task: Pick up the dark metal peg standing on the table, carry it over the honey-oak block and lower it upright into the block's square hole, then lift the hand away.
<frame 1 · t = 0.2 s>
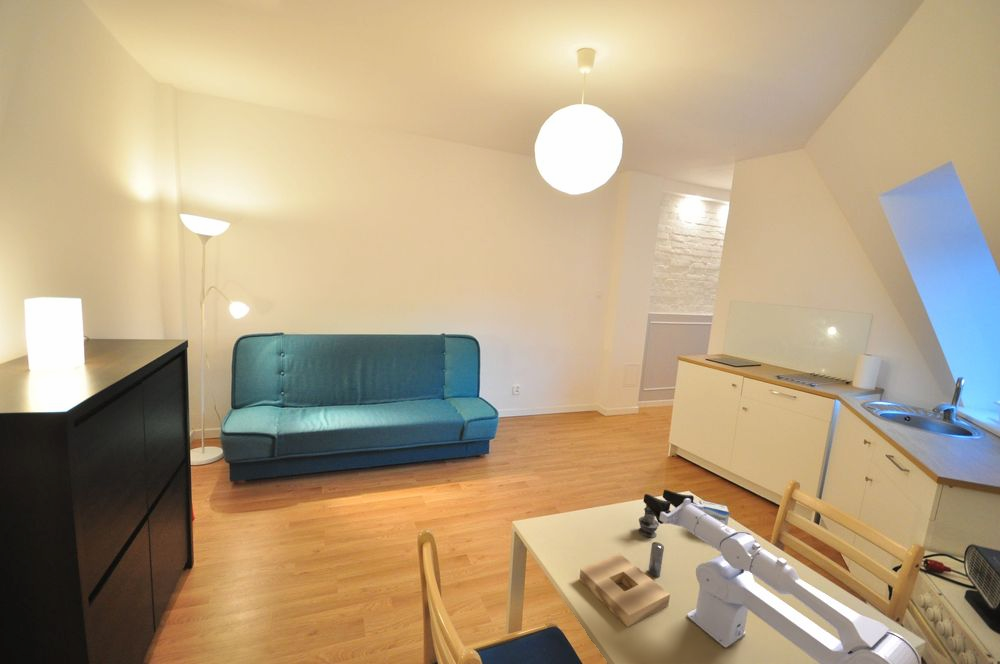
hand: (654, 495, 108), 21 cm above the table, tool horizontal, fingers open, 7 cm apart
metal peg: (654, 573, 110), on the table
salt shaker: (647, 533, 128), on the table
oak hole block: (622, 592, 102), on the table
medicine box: (710, 531, 131), on the table
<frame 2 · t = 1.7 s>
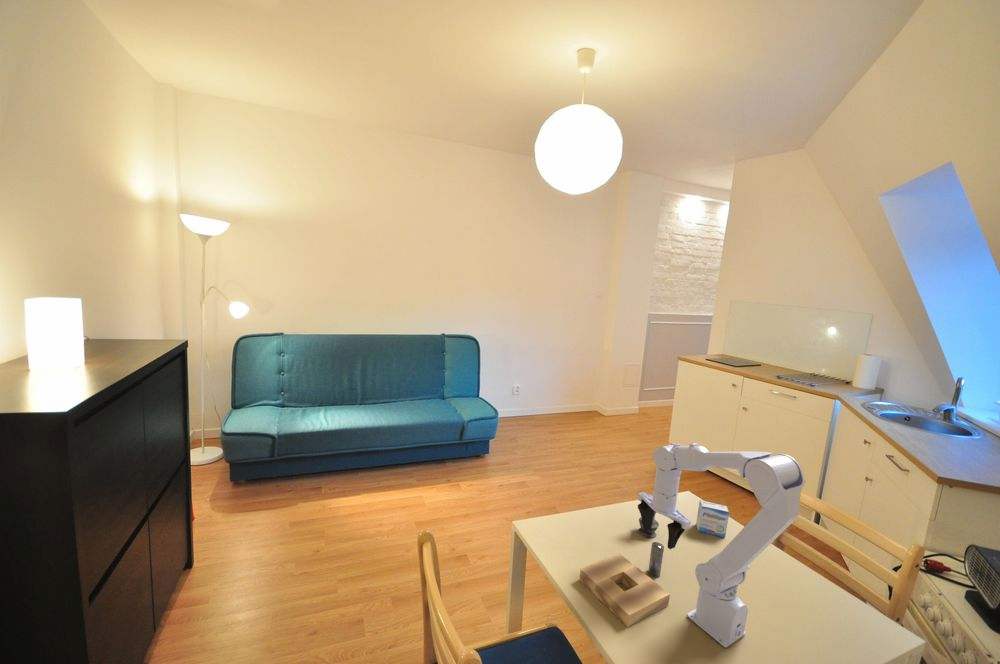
hand: (658, 538, 109), 10 cm above the table, tool pointing down, fingers open, 7 cm apart
nothing on the table moved.
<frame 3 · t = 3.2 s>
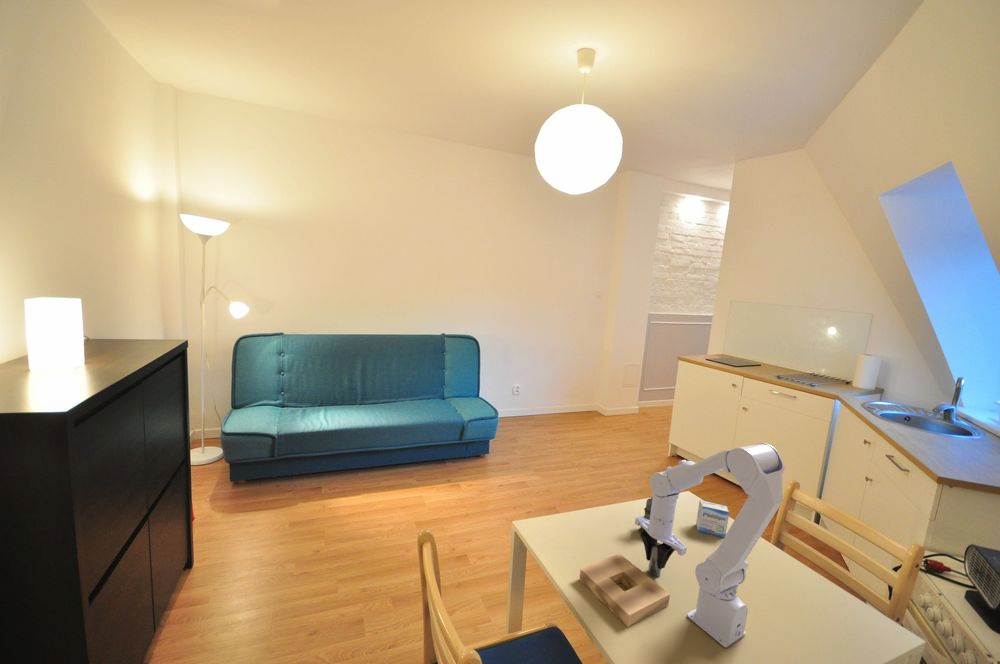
hand: (655, 563, 110), 3 cm above the table, tool pointing down, fingers closed on metal peg, 3 cm apart
metal peg: (654, 573, 110), on the table, touching gripper
everything else where it was.
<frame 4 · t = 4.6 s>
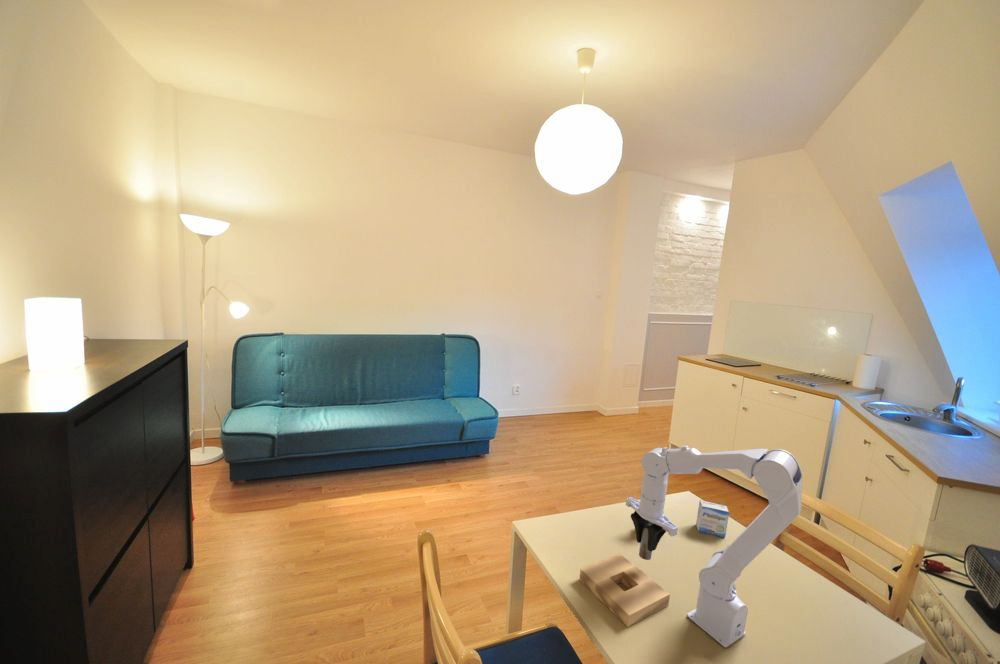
hand: (646, 545, 105), 10 cm above the table, tool pointing down, fingers closed on metal peg, 3 cm apart
metal peg: (644, 555, 106), point 7 cm above the table, touching gripper
everything else where it was.
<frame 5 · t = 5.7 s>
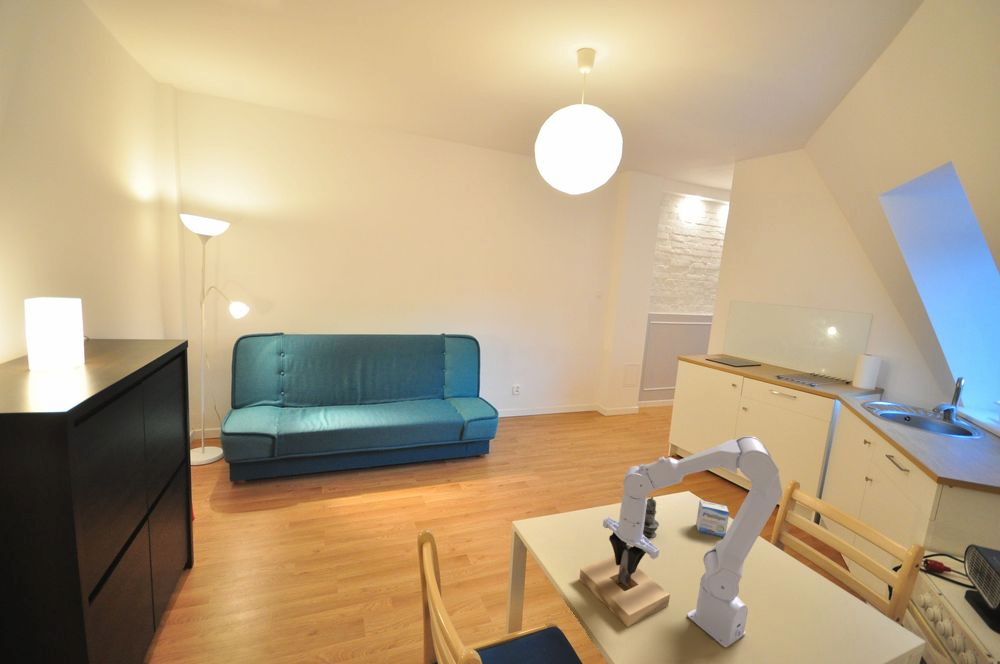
hand: (625, 567, 101), 7 cm above the table, tool pointing down, fingers closed on metal peg, 3 cm apart
metal peg: (624, 578, 102), point 4 cm above the table, touching gripper
everything else where it was.
when the fingers open (4 cm above the table, at t = 6.4 s): metal peg drops 1 cm, resting in oak hole block.
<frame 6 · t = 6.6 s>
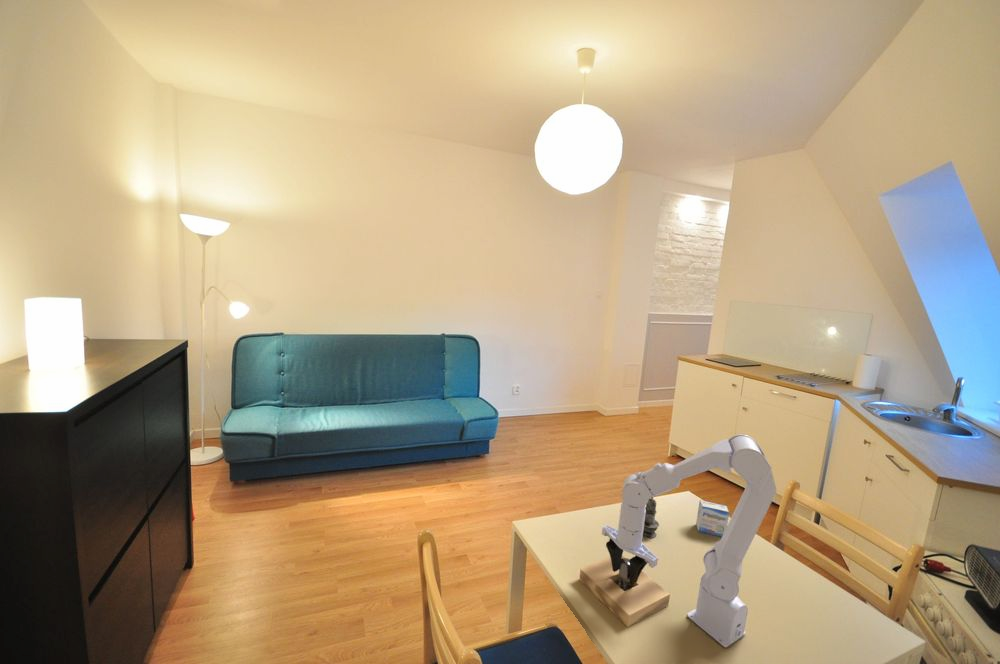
hand: (624, 575, 102), 4 cm above the table, tool pointing down, fingers open, 4 cm apart
metal peg: (622, 591, 102), resting in oak hole block
everything else where it was.
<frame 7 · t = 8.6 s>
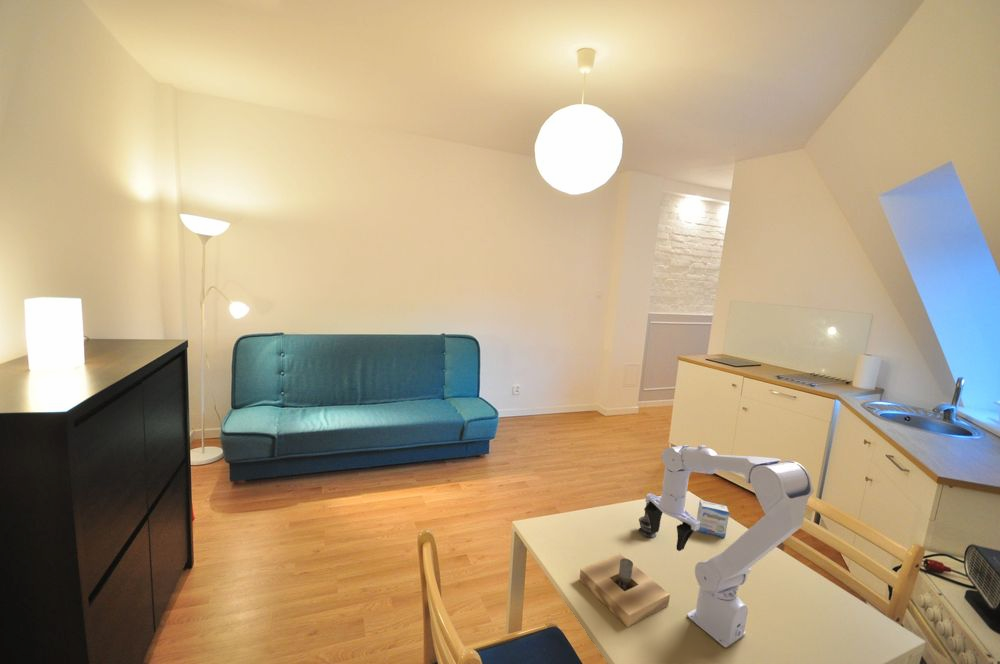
hand: (667, 540, 108), 10 cm above the table, tool pointing down, fingers open, 7 cm apart
nothing on the table moved.
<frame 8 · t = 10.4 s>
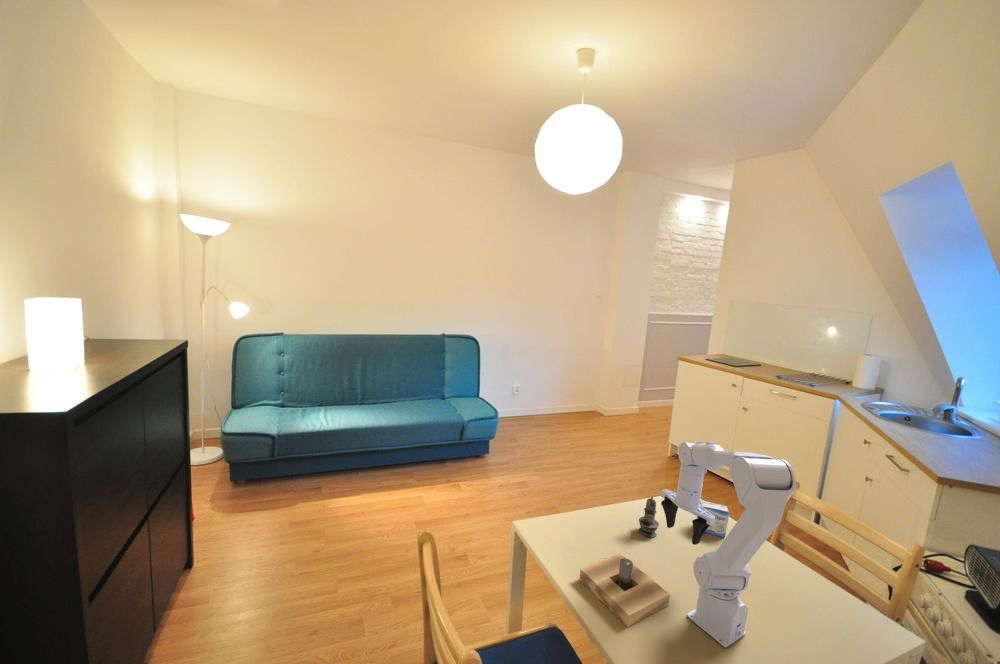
hand: (682, 534, 110), 10 cm above the table, tool pointing down, fingers open, 7 cm apart
nothing on the table moved.
at the end: metal peg 0.1 cm off-centre on the oak hole block, point 0.0 cm above the oak hole block's base; metal peg tilted 0°; the gripper is holding nothing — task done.
